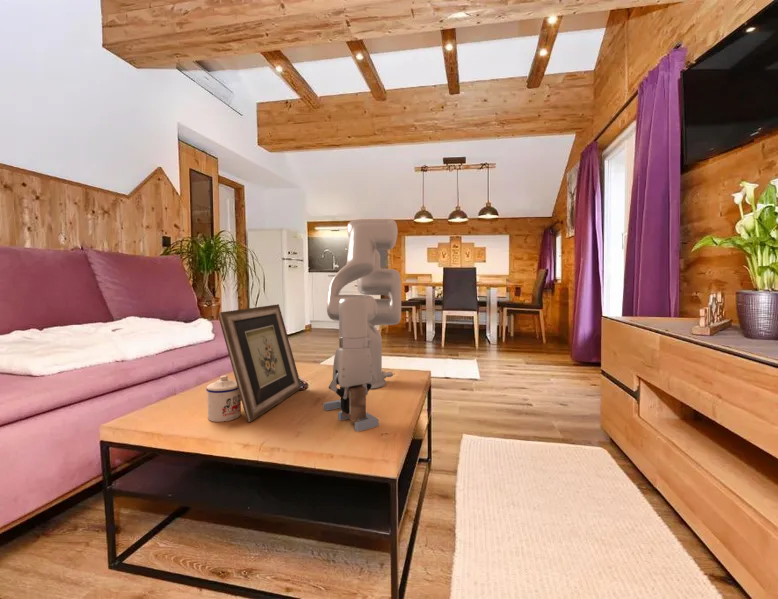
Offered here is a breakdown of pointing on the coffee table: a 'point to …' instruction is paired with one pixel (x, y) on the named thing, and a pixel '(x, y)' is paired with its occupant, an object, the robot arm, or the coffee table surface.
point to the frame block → (356, 402)
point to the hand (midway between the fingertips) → (353, 409)
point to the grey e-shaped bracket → (360, 425)
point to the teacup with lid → (223, 400)
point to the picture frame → (260, 357)
